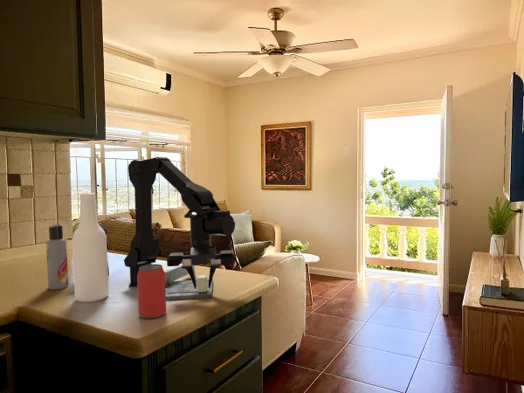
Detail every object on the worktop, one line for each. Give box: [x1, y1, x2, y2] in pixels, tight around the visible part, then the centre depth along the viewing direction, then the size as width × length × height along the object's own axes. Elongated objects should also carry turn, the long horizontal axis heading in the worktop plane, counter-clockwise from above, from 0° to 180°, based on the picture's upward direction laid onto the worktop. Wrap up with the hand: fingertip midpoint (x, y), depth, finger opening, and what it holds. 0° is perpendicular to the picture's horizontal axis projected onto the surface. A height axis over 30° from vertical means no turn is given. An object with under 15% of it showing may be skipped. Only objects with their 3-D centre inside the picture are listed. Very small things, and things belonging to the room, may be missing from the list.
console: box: [165, 278, 214, 301], centre depth 112 cm, size 15×16×1 cm
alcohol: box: [71, 192, 109, 303], centre depth 107 cm, size 9×9×30 cm
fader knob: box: [196, 274, 208, 292], centre depth 108 cm, size 2×3×4 cm
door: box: [164, 264, 189, 284], centre depth 122 cm, size 14×2×4 cm, turn 159°
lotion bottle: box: [45, 223, 69, 290], centre depth 120 cm, size 6×6×20 cm
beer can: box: [136, 263, 167, 320], centre depth 93 cm, size 7×7×12 cm
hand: (202, 287), depth 108 cm, fingers open, 4 cm apart
